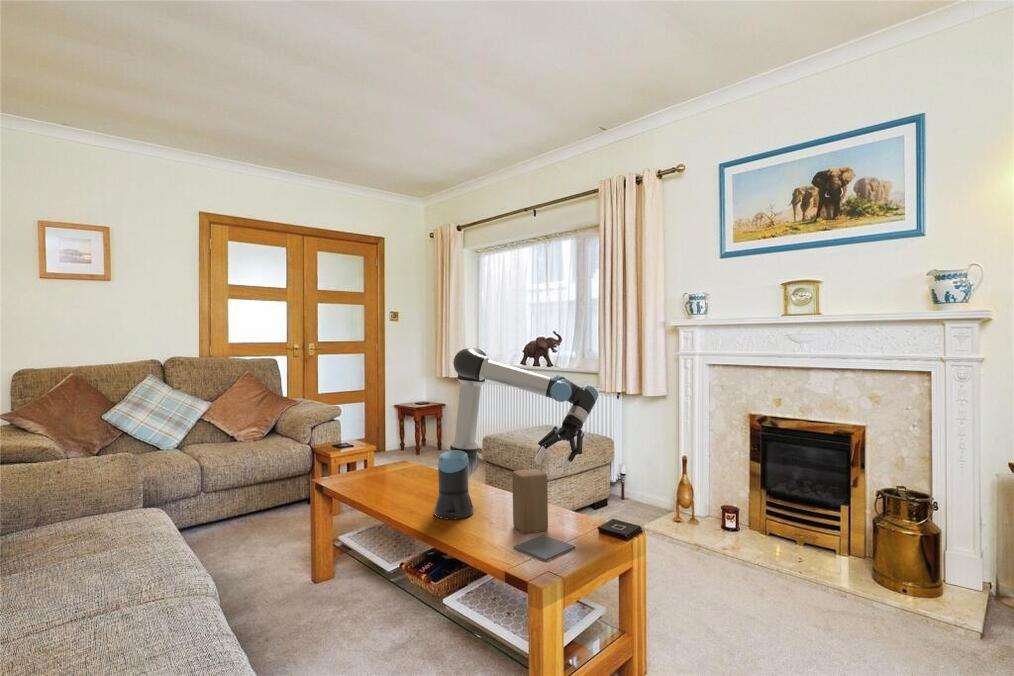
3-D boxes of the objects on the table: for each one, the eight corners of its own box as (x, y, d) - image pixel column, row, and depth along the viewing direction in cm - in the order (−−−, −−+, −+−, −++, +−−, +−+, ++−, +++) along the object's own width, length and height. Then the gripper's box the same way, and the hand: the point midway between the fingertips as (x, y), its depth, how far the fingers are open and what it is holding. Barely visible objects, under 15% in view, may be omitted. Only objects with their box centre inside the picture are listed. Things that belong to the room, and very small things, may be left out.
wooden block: (512, 526, 184) (511, 470, 185) (537, 522, 188) (536, 467, 188) (522, 535, 175) (521, 476, 175) (549, 531, 178) (548, 473, 179)
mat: (513, 548, 163) (513, 546, 163) (543, 537, 173) (543, 534, 173) (545, 561, 153) (545, 559, 153) (575, 548, 162) (575, 546, 162)
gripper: (605, 429, 192) (580, 476, 182) (555, 423, 210) (530, 465, 200) (596, 416, 189) (571, 464, 178) (546, 411, 207) (520, 454, 196)
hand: (549, 465), depth 189 cm, fingers open, 13 cm apart
